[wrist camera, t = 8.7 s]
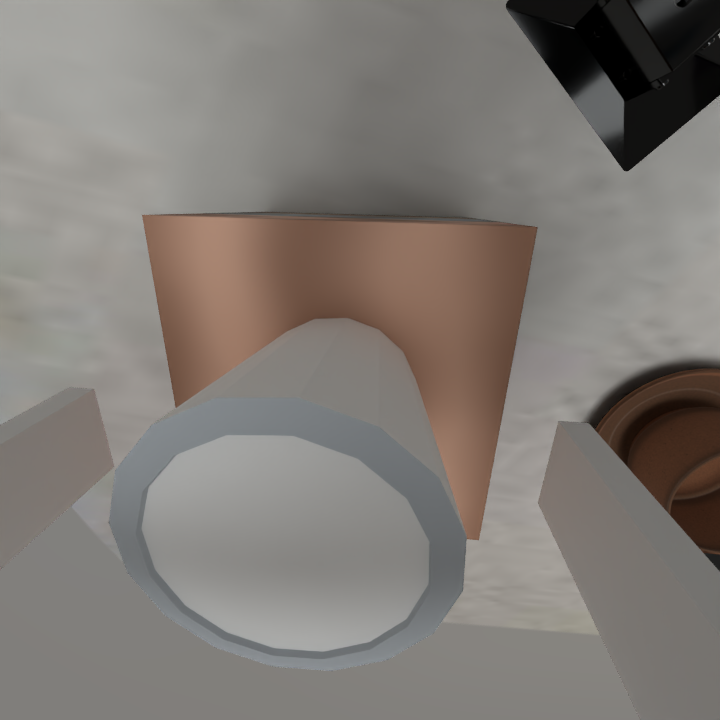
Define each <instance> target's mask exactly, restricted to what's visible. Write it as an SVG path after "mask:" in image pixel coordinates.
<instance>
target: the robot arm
mask: <svg viewBox="0 0 720 720" xmlns="http://www.w3.org/2000/svg"><path fill="white" fill-rule="evenodd" d="M113 467H114V464H113V460H112V456H111V452H110V448H109V444H108V440H107V437H106V433H105V429H104V425H103V421H102V417H101V414H100V410H99V406H98V402H97V398H96V394H95V391H94V389H87V388H73V387H69V388H67V389H66V390H64V391H62V392H60V393H58V394H56V395H54V396H53V397H51V398H49V399H47V400H45V401H43V402H42V403H40V404H38V405H36V406H34V407H32V408H31V409H29V410H27V411H25V412H23V413H21V414H20V415H18V416H16V417H14V418H12V419H10V420H8V421H7V422H5V423H3V424H1V425H0V570H1V569H2V568H3V567H4V566H5V565H6V564H7V563H8V562H9V561H11V560H12V559H13V558H14V557H15V556H16V555H17V554H18V553H20V552H21V551H22V550H23V549H24V548H25V547H26V546H27V545H28V544H29V543H31V542H32V541H33V540H34V539H35V538H36V537H37V536H38V535H39V534H40V533H41V532H43V531H44V530H45V529H46V528H47V527H48V526H49V525H50V524H51V523H53V522H54V521H55V520H56V519H57V518H58V517H59V516H60V515H61V514H63V513H64V511H66V510H67V509H68V508H69V507H70V506H71V505H72V504H74V503H75V502H76V501H77V500H78V499H79V498H80V497H81V496H82V495H83V494H85V493H86V492H87V491H88V490H89V489H90V488H91V487H92V486H93V485H95V484H96V483H97V482H98V481H99V480H100V479H101V478H102V477H103V476H104V475H106V474H107V473H108V472H109V471H110V470H111V469H112V468H113ZM538 504H539V506H540V508H541V510H542V512H543V515H544V517H545V519H546V521H547V523H548V525H549V527H550V529H551V532H552V534H553V536H554V538H555V540H556V542H557V544H558V546H559V549H560V551H561V553H562V555H563V557H564V559H565V561H566V563H567V566H568V568H569V570H570V572H571V574H572V576H573V578H574V580H575V583H576V585H577V587H578V589H579V591H580V593H581V595H582V597H583V600H584V602H585V604H586V606H587V608H588V610H589V612H590V614H591V616H592V619H593V621H594V623H595V625H596V627H597V629H598V631H599V633H600V636H601V638H602V640H603V642H604V644H605V646H606V648H607V650H608V653H609V654H610V657H611V659H612V661H613V663H614V665H615V667H616V669H617V672H618V674H619V676H620V678H621V680H622V682H623V684H624V687H625V689H626V690H627V693H628V695H629V697H630V699H631V701H632V703H633V706H634V708H635V710H636V712H637V714H638V716H639V718H640V720H720V554H709V553H703V552H702V551H701V550H700V549H699V548H698V546H697V545H696V544H695V543H694V542H693V541H692V540H691V539H690V537H689V536H688V535H687V534H686V533H685V532H684V531H683V529H682V528H681V527H680V526H679V525H678V524H677V523H676V522H675V520H674V519H673V518H672V517H671V516H670V515H669V514H668V512H667V511H666V510H665V509H664V508H663V507H662V506H661V505H660V503H659V502H658V501H657V500H656V499H655V498H654V497H653V495H652V494H651V493H650V492H649V491H648V490H647V489H646V488H645V486H644V485H643V484H642V483H641V482H640V481H639V480H638V478H637V477H636V476H635V475H634V474H633V473H632V472H631V470H630V469H629V468H628V467H627V466H626V465H625V464H624V463H623V461H622V460H621V459H620V458H619V457H618V456H617V455H616V453H615V452H614V451H613V450H612V449H611V448H610V447H609V446H608V444H607V443H606V442H605V441H604V440H603V439H602V438H601V436H600V435H599V434H598V433H597V432H596V431H595V430H594V429H593V427H592V426H591V425H590V424H589V423H579V422H564V421H559V422H558V426H557V430H556V434H555V438H554V442H553V446H552V450H551V454H550V458H549V461H548V465H547V469H546V473H545V477H544V481H543V485H542V489H541V493H540V497H539V501H538Z"/></svg>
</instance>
